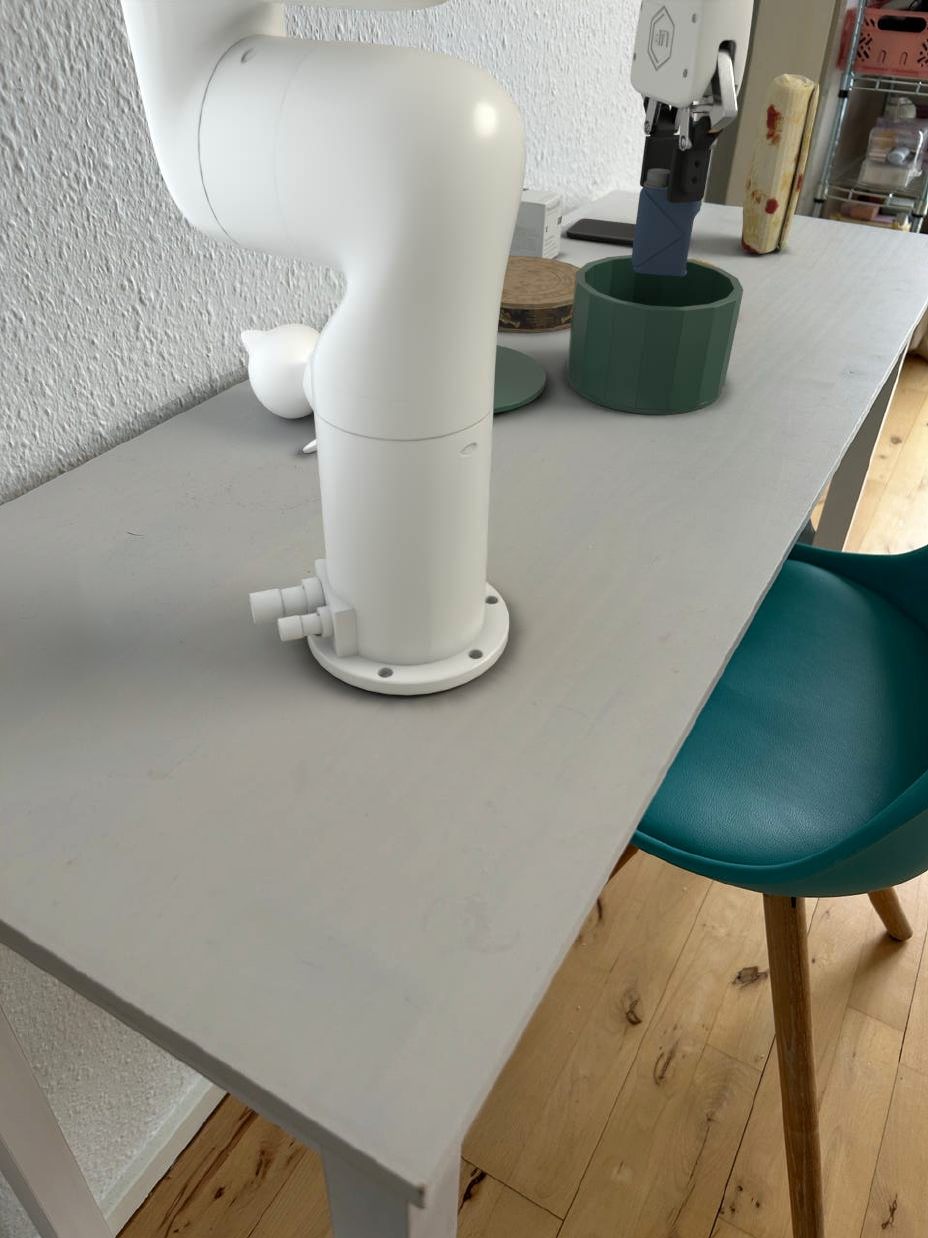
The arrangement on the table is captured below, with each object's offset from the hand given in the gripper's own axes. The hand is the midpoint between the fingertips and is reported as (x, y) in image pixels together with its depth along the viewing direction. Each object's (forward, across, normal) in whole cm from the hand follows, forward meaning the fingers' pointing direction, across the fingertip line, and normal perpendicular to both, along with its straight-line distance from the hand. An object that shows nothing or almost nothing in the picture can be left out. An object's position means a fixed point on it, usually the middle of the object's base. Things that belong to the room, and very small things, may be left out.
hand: (670, 191), depth 80 cm
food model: (+17, -33, +34) cm, 51 cm away
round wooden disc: (+17, -22, -4) cm, 28 cm away
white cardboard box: (+17, -38, +3) cm, 42 cm away
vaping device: (+7, 0, 0) cm, 7 cm away
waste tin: (+17, 0, 0) cm, 17 cm away
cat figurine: (+17, 0, -32) cm, 36 cm away
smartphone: (+17, -42, +19) cm, 49 cm away
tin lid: (+16, -4, -17) cm, 24 cm away
